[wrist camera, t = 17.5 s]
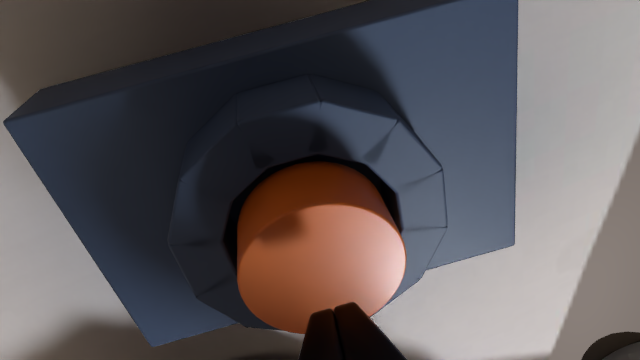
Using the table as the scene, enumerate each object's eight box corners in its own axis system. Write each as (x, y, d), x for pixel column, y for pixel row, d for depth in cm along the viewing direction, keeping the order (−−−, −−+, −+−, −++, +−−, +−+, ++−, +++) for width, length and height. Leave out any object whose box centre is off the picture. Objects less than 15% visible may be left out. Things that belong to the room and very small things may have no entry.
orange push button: (372, 141, 10) (396, 181, 8) (393, 260, 12) (415, 309, 10) (215, 185, 10) (211, 232, 8) (261, 296, 12) (265, 351, 10)
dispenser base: (476, -29, 12) (571, -8, 9) (483, 207, 16) (549, 285, 13) (37, 89, 12) (-45, 159, 8) (161, 298, 16) (140, 401, 12)
